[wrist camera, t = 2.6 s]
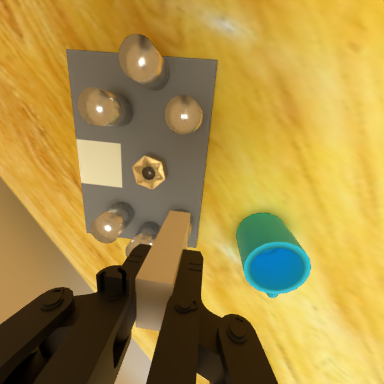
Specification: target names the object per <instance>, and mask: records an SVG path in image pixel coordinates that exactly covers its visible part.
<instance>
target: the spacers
mask: <svg viewBox="0 0 384 384" xmlns="http://www.w3.org/2000/svg"><path fill="white" fill-rule="evenodd" d="M119 63H120V66H121V68H122V70H123V71H124V73H125V74H126V75H127V76H128V77H130V78H131V79H133V80H135V81H136V82H138V83H140V84H142V85H143V86H145V87H147V88H148V89H150V90H154V91H156V90H160V89H162V88H164V87H165V86H166V84H167V83H168V80H169V76H170V72H169V67H168V65H167V63H166V61H165V60H164V59H163V57H162V56H161V55H160V53H159V52H158V50H157V49H156V48H155V46H154V45H153V43H152V42H151V41H150V40H149V39H148V38H147V37H145V36H143V35H141V34H132V35H130V36H128V37H127V38H125V39H124V41H123V42H122V44H121V46H120V49H119ZM78 110H79V112H80V115H81V116H82V118H83V119H84V120H85V121H86V122H87V123H89V124H91V125H93V126H125V125H127V124H128V123H130V121H131V120H132V117H133V108H132V106H131V104H130V102H129V101H128V100H127V99H126V98H125V97H122V96H119V95H116V94H113V93H110V92H107V91H104V90H101V89H98V88H95V87H89V88H86V89H84V90H83V91H82V92H81V93H80V95H79V97H78ZM203 119H204V116H203V111H202V109H201V108H200V106H199V105H198V103H197V102H196V101H195V100H194V99H193V98H192V97H190V96H187V95H178V96H175V97H174V98H172V99H171V100H170V101H169V102H168V104H167V106H166V108H165V120H166V123H167V125H168V127H169V128H170V129H171V130H172V131H173V132H175V133H177V134H183V135H184V134H189V133H192V132H195V131H197V130H198V129H199V128H200V127H201V125H202V123H203ZM175 211H179V212H187V213H189V212H188V211H186V210H183V209H178V210H175ZM134 216H135V213H134V210H133V208H132V207H131V206H130V205H129V204H127V203H125V202H118V203H116V204H114V205H113V206H112V207H111V208H109V209H108V210H107V211H106V212H104V213H103V214H102V215H101V216H99V217H98V218H97V219H96V220H94V221H93V222H92V224H91V233H92V235H93V236H94V237H95V238H96V239H97V240H98V241H100V242H102V243H112V242H114V241H115V240H116V239H117V238H118V237H119V235H120V234H121V233H122V232H123V231H124V229H125V228H126V227H127V226H128V225H129V224H130V222H131V221H132V220H133V219H134ZM192 224H193V218H192V216H191V214H190V224H189V234H188V243H187V247H188V244H189V239H190V234H191V229H192ZM160 229H161V227H160V226H159V225H158V224H157V223H155V222H146V223H144V224H143V225H142V226H141V227H140V229H139V230H138V232H137V233H136V234H135V236H134V237H133V239H132V240H131V241H130V243H129V244H128V246H127V247H126V256H127V257H128V256H129V254H130V253H131V251H132V250H133V248H135V247H136V246H137V245H139V244H147V245H153V243H154V241H155V239H156V237H157V235H158V233H159V231H160Z"/></svg>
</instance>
